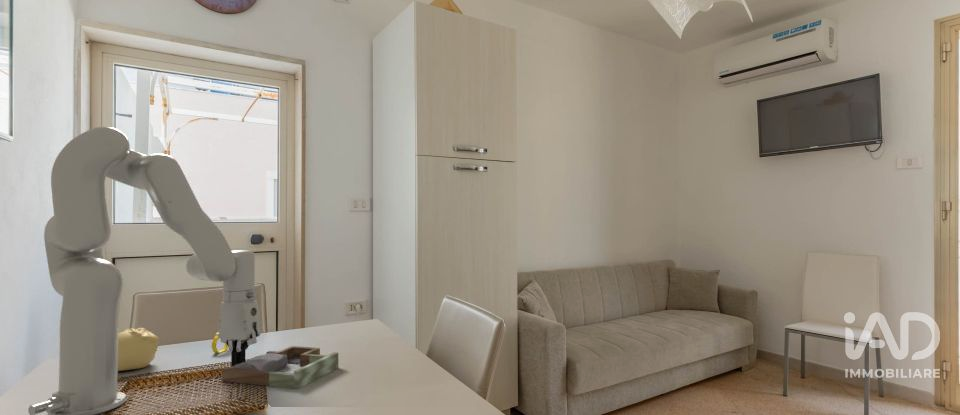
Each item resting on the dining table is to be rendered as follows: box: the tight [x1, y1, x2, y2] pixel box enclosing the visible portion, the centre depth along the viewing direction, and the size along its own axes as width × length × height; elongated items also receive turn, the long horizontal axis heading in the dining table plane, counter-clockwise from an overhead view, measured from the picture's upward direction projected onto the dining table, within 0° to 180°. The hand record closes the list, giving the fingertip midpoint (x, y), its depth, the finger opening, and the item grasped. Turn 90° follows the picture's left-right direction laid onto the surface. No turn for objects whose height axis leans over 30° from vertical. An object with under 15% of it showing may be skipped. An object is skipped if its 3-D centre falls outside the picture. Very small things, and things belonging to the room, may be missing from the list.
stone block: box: [232, 353, 289, 372], centre depth 120 cm, size 12×5×10 cm
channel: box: [221, 345, 339, 390], centre depth 121 cm, size 22×22×4 cm
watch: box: [211, 332, 229, 354], centre depth 139 cm, size 6×3×6 cm, turn 169°
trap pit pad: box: [287, 357, 300, 365], centre depth 129 cm, size 5×7×1 cm
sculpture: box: [118, 327, 160, 372], centre depth 124 cm, size 11×12×11 cm
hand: (238, 365), depth 122 cm, fingers closed
